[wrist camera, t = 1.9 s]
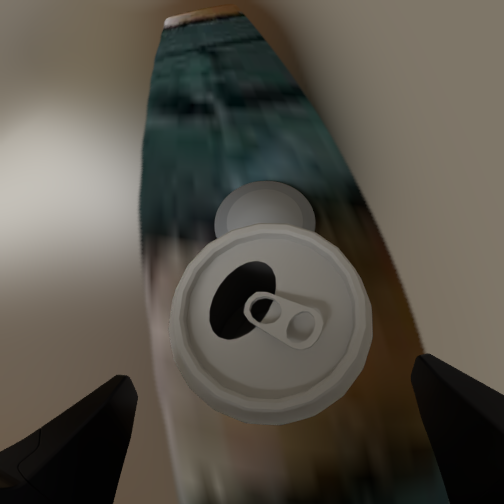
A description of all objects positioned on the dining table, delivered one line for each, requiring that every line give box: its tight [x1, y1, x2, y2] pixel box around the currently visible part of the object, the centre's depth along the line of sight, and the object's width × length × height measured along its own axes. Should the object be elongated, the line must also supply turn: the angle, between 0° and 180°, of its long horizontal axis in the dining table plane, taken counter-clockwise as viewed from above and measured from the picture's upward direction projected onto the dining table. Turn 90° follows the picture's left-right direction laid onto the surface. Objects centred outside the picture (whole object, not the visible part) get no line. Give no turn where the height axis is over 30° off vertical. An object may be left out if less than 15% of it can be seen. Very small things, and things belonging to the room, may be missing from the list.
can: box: [168, 223, 373, 425], centre depth 14 cm, size 8×8×12 cm
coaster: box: [215, 181, 315, 238], centre depth 23 cm, size 8×8×1 cm
